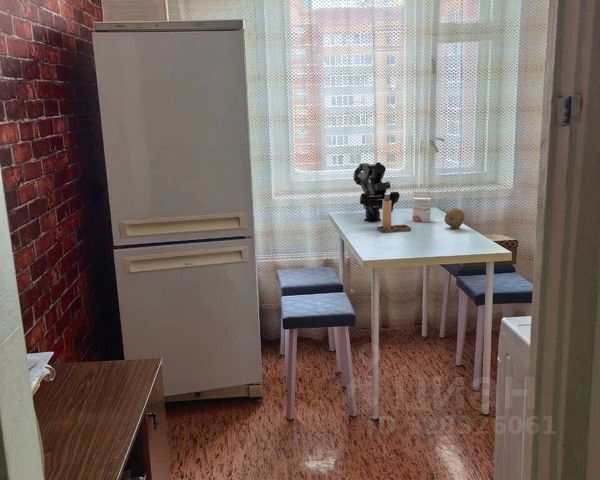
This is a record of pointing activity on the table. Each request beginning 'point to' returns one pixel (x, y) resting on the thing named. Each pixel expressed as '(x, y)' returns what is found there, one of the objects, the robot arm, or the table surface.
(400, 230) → the brown divided tray
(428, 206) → the ink cartridge box
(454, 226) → the natural sponge
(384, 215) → the tan rounded column
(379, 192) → the robot arm
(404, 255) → the table surface
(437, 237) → the table surface
